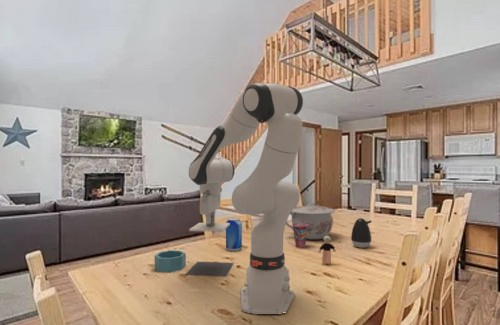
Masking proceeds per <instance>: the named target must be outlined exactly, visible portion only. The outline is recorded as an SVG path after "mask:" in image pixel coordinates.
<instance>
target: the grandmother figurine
mask: <svg viewBox="0 0 500 325" xmlns="http://www.w3.org/2000/svg"><path fill="white" fill-rule="evenodd" d="M322 240H323V241H324V243H323V244H321V246H320V247H319V249H318V250H317V251H318V253H319V254H320V253H321V251H322V257H321V259H322V260H321V262H322V263H321V265H322V266H326V265H327V266H331V265H333V264H332V251H331V250H333V252H335V253H336V252H337V251H336V247H335V246H334V244H331V241H332V238H331V237H330V236H329V235H328V236H325V237H324V238H323V239H322Z"/></svg>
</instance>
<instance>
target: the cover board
mask: <svg viewBox="0 0 500 325" xmlns="http://www.w3.org/2000/svg"><path fill="white" fill-rule="evenodd" d="M215 216H216V214H215V215H211V223H210V224H208V223H206V222H198V223H197V224H195V225H194V226H192V227H190V228H189V232H224V231H226V228H227V227H228V226H229V225H230V223H226V222H215V221H216V220H215V219H216V217H215Z"/></svg>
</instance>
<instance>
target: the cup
mask: <svg viewBox="0 0 500 325" xmlns="http://www.w3.org/2000/svg"><path fill="white" fill-rule="evenodd" d="M308 225H310V224H305V223H295V224H292V223H291V226H293V230H294V231H293V230H292V231H293V236H294V238H293V239H294V244H295V248H297V249H304V248H306V242H307V239H306V236H307V228H308Z"/></svg>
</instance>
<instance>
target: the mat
mask: <svg viewBox="0 0 500 325" xmlns="http://www.w3.org/2000/svg"><path fill="white" fill-rule="evenodd" d="M234 264H235V263H234V262H219V261H217V262H216V261H215V262H214V261H196V263H195V264H194V265H192V267H191V268H189V270H188V271H187V272H186V273H185V274H184V276H196V277H197V276H203V277H223V278H224V277H225V278H226V277H227V276H228V274H229V273H230V270H232V267H233V266H234Z"/></svg>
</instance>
